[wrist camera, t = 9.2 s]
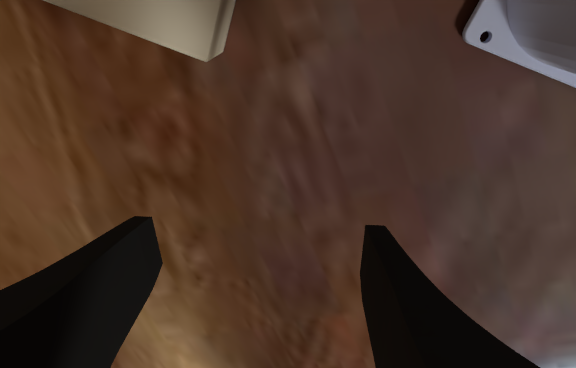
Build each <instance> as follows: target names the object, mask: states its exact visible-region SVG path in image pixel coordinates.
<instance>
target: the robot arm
mask: <svg viewBox="0 0 576 368" xmlns="http://www.w3.org/2000/svg"><path fill="white" fill-rule="evenodd" d="M485 31H487V32H488V34H489V36H488V39H487V40H486V41H484V42H481V41H480V36H481V34H482V33H483V32H485ZM462 37H463V39H464V41H465V42H466V43H468V44H471V45H473V46H475V47H478V48H480V49H483V50H485V51H488V52H490V53H492V54H495V55H497V56H500V57H502V58H505V59H507V60H509V61H512V62H514V63H517V64H519V65H522V66H524V67H526V68H529V69H531V70H534V71H536V72H539V73H541V74H543V75H546V76H548V77H551V78H553V79H556V80H558V81H560V82H563V83H565V84H568V85H570V86H573V87H575V88H576V0H479V2H478V4H477V6H476V8H475V9H474V11H473V13H472V15H471V17H470V18H469V20H468V22H467V24H466V26H465V27H464V30H463V32H462ZM162 264H163V263H162V258H161V254H160V250H159V245H158V241H157V237H156V233H155V228H154V224H153V220H152V217H141V216H134V217H132V218H130V219H128V220H127V221H125V222H123V223H121V224H120V225H118V226H116V227H115V228H113V229H111V230H110V231H108V232H106V233H105V234H103V235H102V236H100V237H98V238H97V239H95V240H93V241H92V242H90V243H88V244H87V245H85V246H84V247H82V248H80V249H79V250H77V251H75V252H73V253H72V254H70V255H68V256H66V257H65V258H63V259H61V260H59V261H57V262H56V263H54V264H52V265H50V266H49V267H47V268H45V269H43V270H41V271H39V272H37V273H35V274H33V275H31V276H29V277H27V278H25V279H23V280H21V281H19V282H17V283H15V284H13V285H11V286H8V287H6V288H4V289H2V290H0V368H110V367H111V365H112V363H113V361H114V359H115V357H116V355H117V353H118V351H119V349H120V347H121V345H122V344H123V342H124V340H125V338H126V336H127V335H128V333H129V331H130V329H131V328H132V326H133V324H134V322H135V320H136V319H137V317H138V315H139V313H140V312H141V310H142V308H143V306H144V304H145V303H146V301H147V299H148V297H149V295H150V293H151V291H152V290H153V287H154V285H155V282H156V280H157V277H158V275H159V272H160V269H161V266H162ZM360 279H361V292H362V302H363V307H364V312H365V317H366V322H367V327H368V332H369V337H370V342H371V347H372V351H373V356H374V361H375V366H376V368H540V367H538V366H537V365H535V364H534V363H532V362H531V361H529V360H528V359H526V358H525V357H523V356H521V355H520V354H518V353H517V352H515V351H514V350H513V349H511V348H510V347H508V346H507V345H505V344H504V343H503V342H501V341H500V340H498V339H497V338H496V337H494V336H493V335H492V334H490V333H489V332H488V331H487V330H485V329H484V328H483V327H481V326H480V325H479V324H477V323H476V322H475V321H474V320H472V319H471V318H470V317H469V316H467V315H466V314H465V313H464V312H463V311H462V310H461V309H459V308H458V307H457V306H456V305H455V304H454V303H453V302H451V301H450V300H449V299H448V298H447V297H446V296H445V295H444V294H443V293H442V292H441V291H440V290H439V289H438V288H437V287H436V286H435V285H434V284H433V283H432V282H431V281H430V280H429V279H428V278H427V277H426V276H425V275H424V273H423V272H422V271H421V270H420V269H419V268H418V267H417V265H416V264H415V263H414V262H413V261H412V260H411V258H410V257H409V256H408V255H407V254H406V252H405V251H404V250H403V249H402V247H401V246H400V245H399V243H398V242H397V241H396V240H395V238H394V237H393V236H392V234H391V233H390V232H389V230H388V229H387V228H386V227H385V226H379V225H365V234H364V242H363V251H362V260H361V269H360Z"/></svg>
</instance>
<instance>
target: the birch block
mask: <svg viewBox="0 0 576 368" xmlns="http://www.w3.org/2000/svg"><path fill="white" fill-rule="evenodd" d="M43 1H46V2H49V3H51V4H54V5H56V6H59V7H62V8H64V9H67V10H70V11H72V12H75V13H78V14H80V15H83V16H86V17H88V18H91V19H94V20H96V21H99V22H102V23H104V24H107V25H109V26H112V27H115V28H117V29H120V30H123V31H125V32H128V33H131V34H133V35H136V36H139V37H141V38H144V39H147V40H149V41H152V42H155V43H157V44H160V45H163V46H165V47H168V48H170V49H173V50H176V51H178V52H181V53H184V54H186V55H189V56H192V57H194V58H197V59H200V60H202V61H205V62H208V61H209V60H211V59H212V58H214V57H216V56H217V55H219V54H220V53H222V52H223V50H224V46H225V42H226V38H227V34H228V30H229V26H230V22H231V18H232V14H233V10H234V6H235V2H236V0H43Z"/></svg>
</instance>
